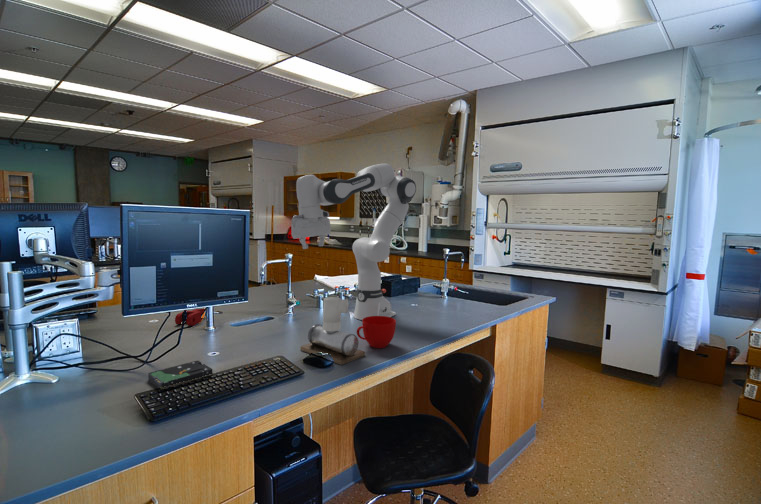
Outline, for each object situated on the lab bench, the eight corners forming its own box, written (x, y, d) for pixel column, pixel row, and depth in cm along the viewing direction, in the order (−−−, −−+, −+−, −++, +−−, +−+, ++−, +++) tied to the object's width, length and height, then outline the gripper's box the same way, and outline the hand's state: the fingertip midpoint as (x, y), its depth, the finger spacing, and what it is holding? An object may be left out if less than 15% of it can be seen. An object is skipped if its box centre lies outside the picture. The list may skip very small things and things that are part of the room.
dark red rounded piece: (190, 327, 171) (190, 315, 170) (175, 326, 172) (174, 314, 171) (211, 317, 186) (210, 307, 186) (197, 316, 187) (196, 306, 187)
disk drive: (197, 368, 128) (147, 381, 117) (197, 359, 128) (147, 372, 117) (213, 377, 121) (161, 392, 110) (213, 368, 121) (161, 382, 110)
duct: (324, 342, 155) (325, 312, 154) (364, 355, 142) (365, 323, 141) (300, 350, 146) (300, 318, 144) (341, 365, 133) (342, 330, 131)
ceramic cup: (346, 345, 152) (347, 320, 151) (380, 338, 163) (381, 314, 162) (367, 355, 142) (368, 328, 141) (402, 346, 153) (402, 321, 152)
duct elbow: (325, 325, 146) (325, 296, 145) (348, 327, 146) (348, 297, 144) (321, 330, 140) (321, 300, 139) (345, 332, 139) (345, 301, 138)
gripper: (297, 214, 154) (301, 250, 155) (331, 212, 171) (334, 244, 172) (285, 216, 158) (289, 250, 159) (320, 214, 174) (324, 245, 175)
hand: (313, 247), depth 165 cm, fingers open, 8 cm apart
